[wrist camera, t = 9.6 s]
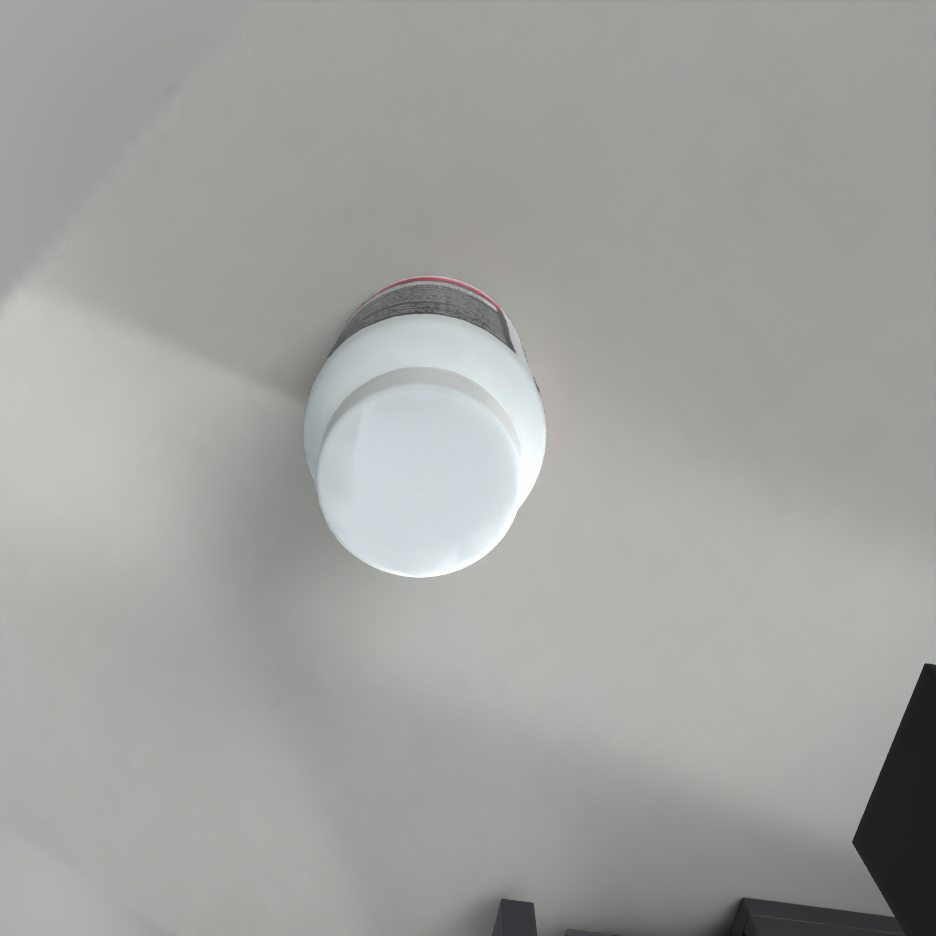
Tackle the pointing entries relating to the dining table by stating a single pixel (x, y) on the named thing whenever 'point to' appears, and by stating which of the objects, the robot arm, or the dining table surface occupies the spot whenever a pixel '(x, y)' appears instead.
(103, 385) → the dining table surface
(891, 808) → the robot arm
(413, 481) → the pill bottle
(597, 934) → the pulled-out drawer
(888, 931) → the grey drawer box
